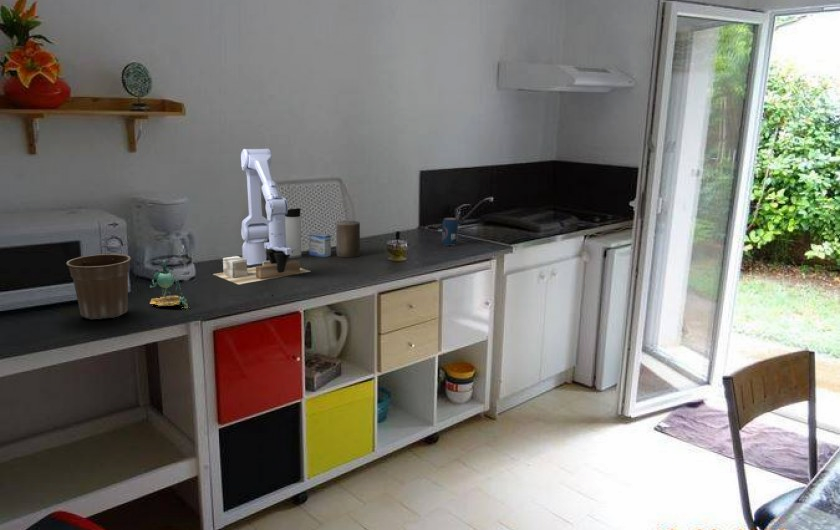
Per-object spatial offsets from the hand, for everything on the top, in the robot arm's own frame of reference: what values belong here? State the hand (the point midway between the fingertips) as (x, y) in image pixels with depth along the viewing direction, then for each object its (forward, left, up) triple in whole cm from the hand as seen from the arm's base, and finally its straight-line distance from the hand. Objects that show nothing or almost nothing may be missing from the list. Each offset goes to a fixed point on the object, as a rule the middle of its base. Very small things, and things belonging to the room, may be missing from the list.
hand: (278, 271), depth 234 cm
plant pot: (+5, -61, -3) cm, 61 cm away
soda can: (-3, +91, -3) cm, 91 cm away
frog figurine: (+7, -43, -3) cm, 44 cm away
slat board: (-6, -3, -2) cm, 7 cm away
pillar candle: (-14, +42, -3) cm, 44 cm away
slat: (0, 0, -1) cm, 1 cm away
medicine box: (-21, +33, -3) cm, 39 cm away
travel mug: (-25, +23, -3) cm, 34 cm away
